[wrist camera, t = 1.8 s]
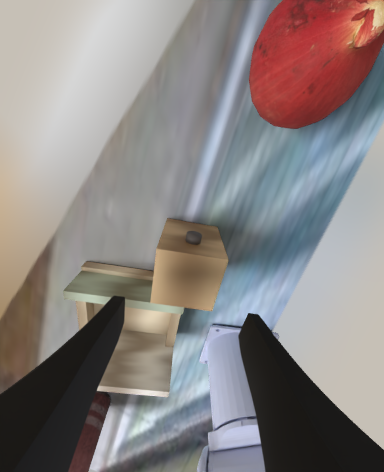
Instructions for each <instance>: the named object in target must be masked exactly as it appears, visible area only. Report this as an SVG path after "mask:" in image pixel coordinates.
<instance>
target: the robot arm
mask: <svg viewBox="0 0 384 472" xmlns="http://www.w3.org/2000/svg"><path fill="white" fill-rule="evenodd" d="M124 319H125V297H122V296H115V295H114V296H112V297H111V299H110V300H109V301H108V302H107V303H106V304H105V305H104V306H103V307H102V308H101V309H100V311H99V312H98V313H97V314H96V315H95V316H94V317H93V318H92V319H91V320H90V321H89V322H88V323H87V324H86V325H85V326H84V327H83V328H81V329H80V330H79V331H78V332H77V333H76V334H75V335H74V336H73V337H72V338H71V339H69V340H68V341H67V342H66V343H65V344H64V345H63V346H62V347H60V348H59V349H58V350H57V351H56V352H55V353H53V354H52V355H51V356H50V357H49V358H47V359H46V360H45V361H44V362H42V363H41V364H40V365H39V366H37V367H36V368H35V369H34V370H32V371H31V372H30V373H28V374H27V375H26V376H24V377H23V378H22V379H20V380H19V381H18V382H16V383H15V384H14V385H12V386H11V387H10V388H8V389H7V390H6V391H4V392H3V393H1V394H0V472H68V471H69V468H70V465H71V462H72V459H73V456H74V453H75V450H76V447H77V444H78V441H79V438H80V435H81V433H82V430H83V427H84V424H85V421H86V418H87V415H88V413H89V410H90V407H91V404H92V401H93V399H94V396H95V394H96V391H97V389H98V386H99V384H100V382H101V380H102V377H103V375H104V373H105V370H106V368H107V366H108V364H109V361H110V359H111V357H112V354H113V352H114V350H115V347H116V345H117V343H118V340H119V337H120V334H121V331H122V328H123V325H124ZM278 338H279V335H278V334H277V333H274V332H271V330H270V329H269V328H268V327H267V325H266V324H265V323H264V321H263V320H262V319H261V317H260V316H259V315H258V314H250V313H248V315H247V317H246V320H245V322H244V324H243V326H242V328H235V327H227V326H219V325H212V326H211V327H210V329H209V332H208V335H207V338H206V341H205V344H204V347H203V350H202V353H201V356H200V359H199V360H200V363H204V364H208V370H209V383H210V395H211V408H212V421H213V431H212V432H209V433H208V438H209V445H208V446H205V447H204V449H203V451H202V454H201V457H200V459H199V462H198V468H197V472H384V450H383V449H382V448H381V447H380V446H379V445H377V444H376V443H375V442H374V441H373V440H372V439H371V438H370V437H369V436H368V435H366V434H365V433H364V432H363V431H362V430H361V429H360V428H359V427H358V426H357V425H356V424H354V423H353V422H352V421H351V420H350V419H349V418H348V417H347V416H346V415H345V414H344V413H343V412H342V411H341V410H340V409H339V408H338V407H337V406H336V405H335V404H334V403H333V402H332V401H331V400H330V399H329V398H328V397H327V396H326V395H325V394H324V393H323V392H322V391H321V390H320V389H319V388H318V387H317V386H316V384H315V383H313V381H312V380H311V379H310V378H309V377H308V376H307V375H306V373H304V371H303V370H302V369H301V368H300V367H299V365H298V364H297V363H296V362H295V361H294V359H293V358H292V357H291V356H290V355H289V353H288V352H287V351H286V350H285V349H284V347H283V346H282V345H281V343H280V342H279V341H278Z"/></svg>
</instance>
